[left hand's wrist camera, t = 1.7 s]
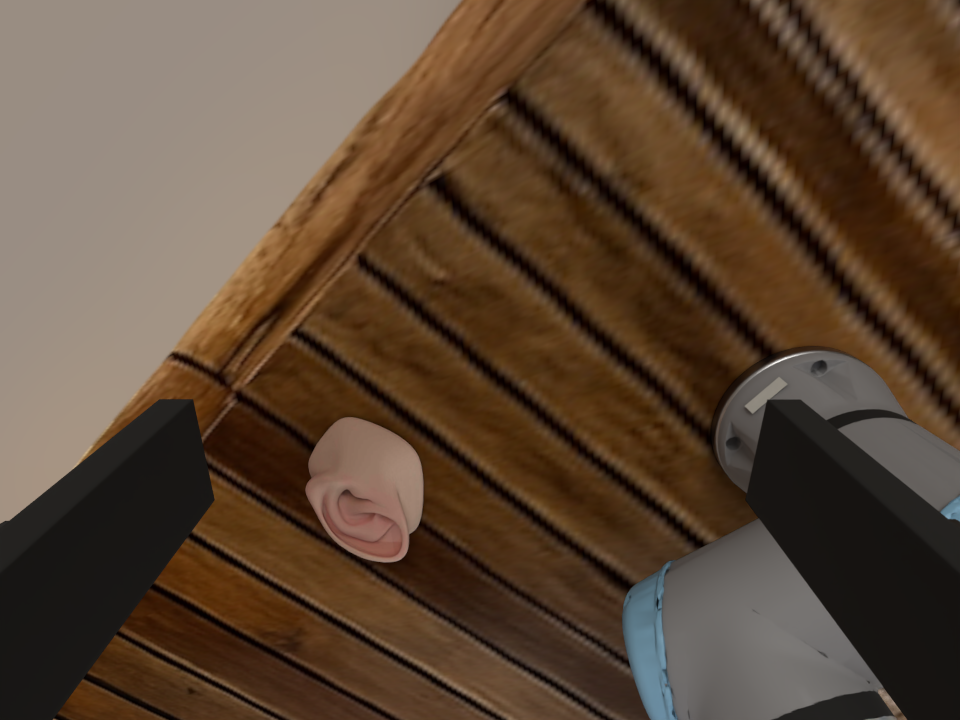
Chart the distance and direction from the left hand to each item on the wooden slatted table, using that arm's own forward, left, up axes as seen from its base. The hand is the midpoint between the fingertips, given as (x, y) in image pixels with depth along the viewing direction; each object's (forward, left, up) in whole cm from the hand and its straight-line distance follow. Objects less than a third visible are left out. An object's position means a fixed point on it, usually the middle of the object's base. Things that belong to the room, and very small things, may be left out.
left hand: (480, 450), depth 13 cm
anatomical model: (-7, +25, -34) cm, 43 cm away
